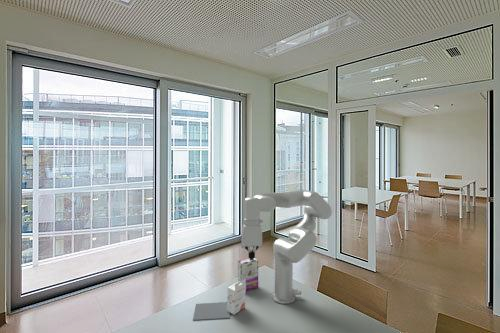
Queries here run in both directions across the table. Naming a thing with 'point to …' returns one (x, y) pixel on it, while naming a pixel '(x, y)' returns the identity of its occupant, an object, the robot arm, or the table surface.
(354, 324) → the table surface
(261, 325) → the table surface
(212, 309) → the mat
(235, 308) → the ink cartridge box
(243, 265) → the candy bar box
